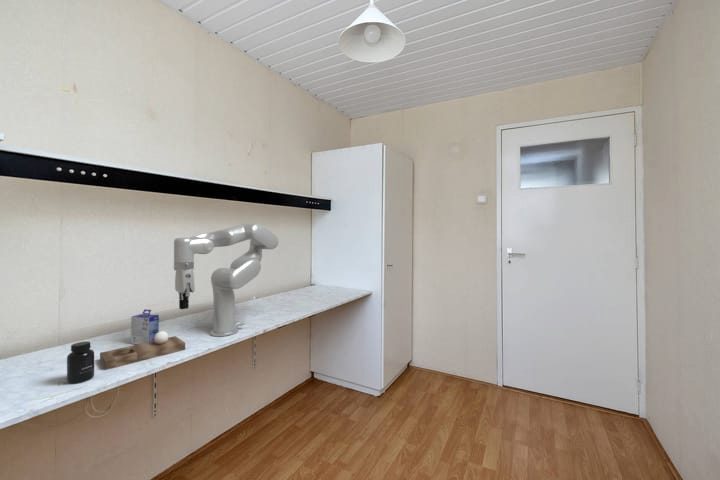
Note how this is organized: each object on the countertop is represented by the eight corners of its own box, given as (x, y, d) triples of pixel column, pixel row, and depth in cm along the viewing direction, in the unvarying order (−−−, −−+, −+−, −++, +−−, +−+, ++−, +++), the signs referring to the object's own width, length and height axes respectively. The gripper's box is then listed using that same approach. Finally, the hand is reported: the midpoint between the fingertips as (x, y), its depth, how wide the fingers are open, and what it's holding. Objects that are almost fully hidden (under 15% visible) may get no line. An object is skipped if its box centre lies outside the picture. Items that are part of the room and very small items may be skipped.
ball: (166, 340, 133) (166, 328, 133) (170, 343, 129) (170, 331, 129) (152, 343, 129) (152, 331, 129) (156, 346, 126) (156, 334, 126)
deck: (175, 342, 139) (175, 336, 138) (185, 349, 130) (185, 342, 130) (100, 360, 119) (99, 352, 119) (106, 369, 111) (106, 361, 111)
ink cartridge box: (159, 341, 140) (159, 309, 140) (149, 345, 135) (148, 312, 135) (141, 340, 142) (141, 308, 142) (130, 344, 137) (129, 311, 137)
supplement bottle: (87, 382, 102) (87, 346, 101) (62, 385, 100) (61, 348, 99) (98, 373, 108) (98, 339, 108) (74, 376, 106) (74, 341, 106)
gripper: (199, 267, 133) (199, 309, 133) (187, 264, 143) (187, 304, 143) (180, 268, 127) (180, 313, 127) (168, 265, 137) (168, 307, 138)
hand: (183, 308), depth 135 cm, fingers closed
